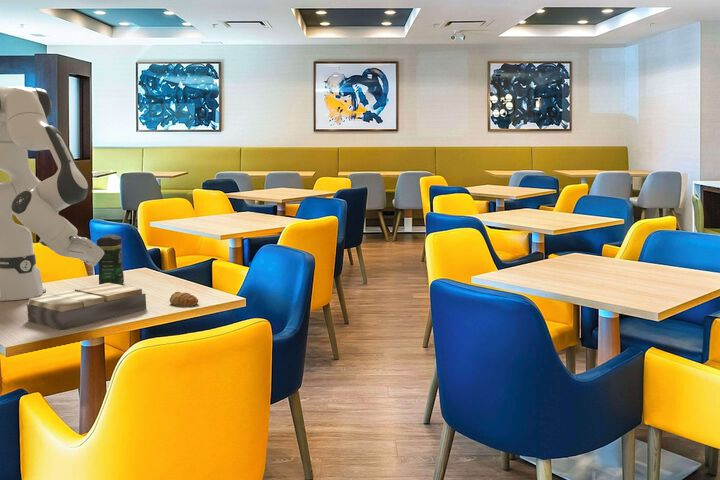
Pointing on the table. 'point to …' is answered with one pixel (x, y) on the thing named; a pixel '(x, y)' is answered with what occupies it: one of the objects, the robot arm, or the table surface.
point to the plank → (111, 291)
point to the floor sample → (79, 308)
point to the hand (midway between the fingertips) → (93, 263)
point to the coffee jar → (111, 260)
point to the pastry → (183, 299)
